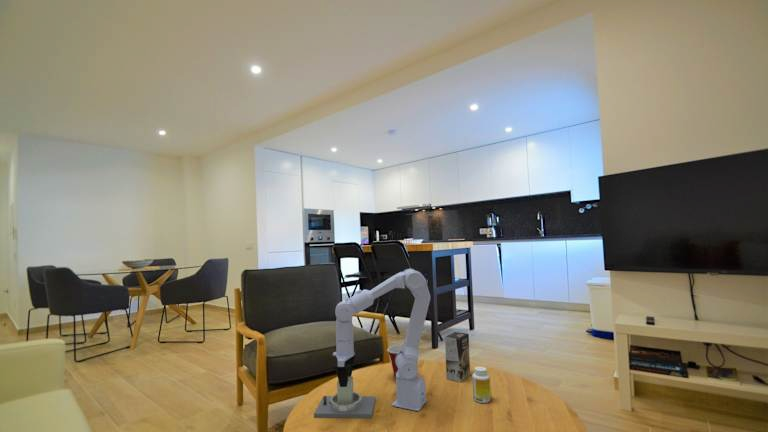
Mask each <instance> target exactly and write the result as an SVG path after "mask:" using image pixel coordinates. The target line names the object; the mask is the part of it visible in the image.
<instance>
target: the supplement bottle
mask: <svg viewBox="0 0 768 432" xmlns="http://www.w3.org/2000/svg"><path fill="white" fill-rule="evenodd" d="M471 378H472V395H473V400H474V401H475V402H478V403H481V404H488V403H489V402H490V401H491V386H490V384H491V383H490V381H491V379H490V375H489V373H488V371H487V368H486V367H484V366H475V367H474V372H473V373H472V377H471Z"/></svg>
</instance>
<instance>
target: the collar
mask: <svg viewBox="0 0 768 432" xmlns="http://www.w3.org/2000/svg"><path fill="white" fill-rule="evenodd" d="M326 396H327V395H324V396H322V398H323V404H324V405H326V404H327V399H326ZM330 396H331V398H330V407H331V409H332V410H334V411H336V412H351V411H355V410H357V409H358V408H360V407H361V405H362V396H363V395H361V394H360V393H359V392H357V391H353V398H354V399H355V400H358V401H356V402H355V403H351V404H347V405H344V404H337V403H334V402H336V401H337V393H335V394H333V395H330Z"/></svg>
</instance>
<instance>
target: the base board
mask: <svg viewBox="0 0 768 432" xmlns="http://www.w3.org/2000/svg"><path fill="white" fill-rule="evenodd" d="M325 396H326V399H327V404H326V405H324V404H323V397H322V399H321V400H320V402H319V403H318V406H317V407H316V409H315V411H314V413H313V418H316V419H317V418H318V419H319V418H320V419H322V418H326V419H329V418H331V419H332V418H333V419H343V418H344V419H372V417H373V413H374V408H375V404H376V400H377V399H376V398H377V397H376V396H374V395H372V396H371V395H370V396H369V395H368V396H365V395H361V396H362V405H361V407H360V408H358V409H357V410H355V411H351V412H336V411H334V410H332V409H331V407H330V398H331V396H332V395H325ZM356 401H358V400H355V399H354V402H353V403H355V402H356ZM334 403H337V401H336V402H334ZM337 404H338V403H337Z"/></svg>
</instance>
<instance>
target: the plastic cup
mask: <svg viewBox="0 0 768 432" xmlns="http://www.w3.org/2000/svg"><path fill="white" fill-rule="evenodd" d="M403 344H404V343H402V344H401V343H399V344H395V345H392V346H388V348H387V350H386V351H387V352H388V355H389V358H390V361H391V367H392V371H393V376H394V380H396V373H397V371H398V367H397V366H396V363H395V358H396V356H397V354H398V353H399V352H400V349H401V346H402V345H403Z"/></svg>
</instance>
